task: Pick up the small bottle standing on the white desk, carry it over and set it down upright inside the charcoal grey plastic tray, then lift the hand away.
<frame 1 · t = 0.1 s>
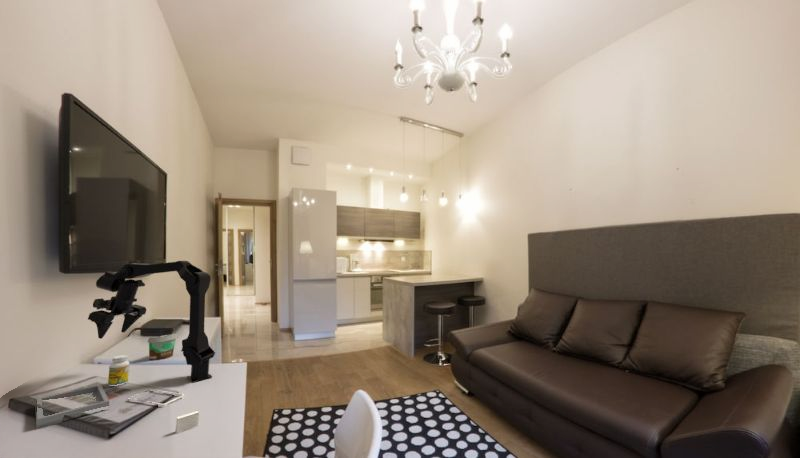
hand: (111, 335, 117), 15 cm above the table, tool pointing down, fingers open, 9 cm apart
supplement bottle: (117, 384, 109), on the table
phone case: (156, 401, 99), on the table
eraser: (186, 429, 82), on the table
tray: (71, 408, 92), on the table
food container: (165, 357, 138), on the table
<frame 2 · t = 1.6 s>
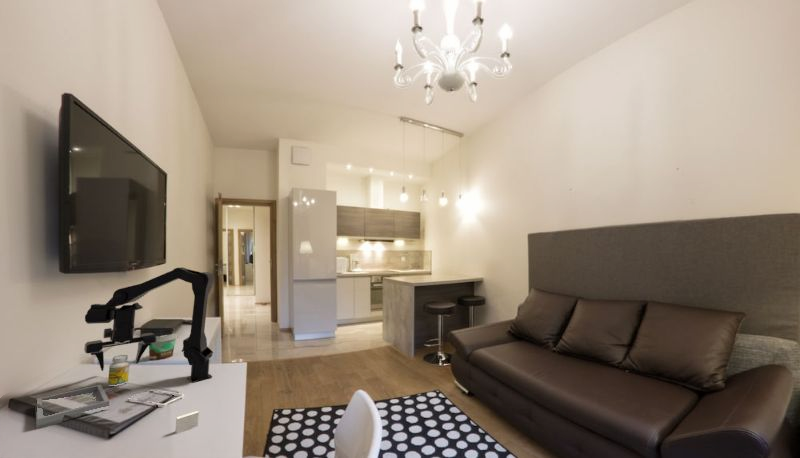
hand: (119, 366, 110), 6 cm above the table, tool pointing down, fingers open, 9 cm apart
nothing on the table moved.
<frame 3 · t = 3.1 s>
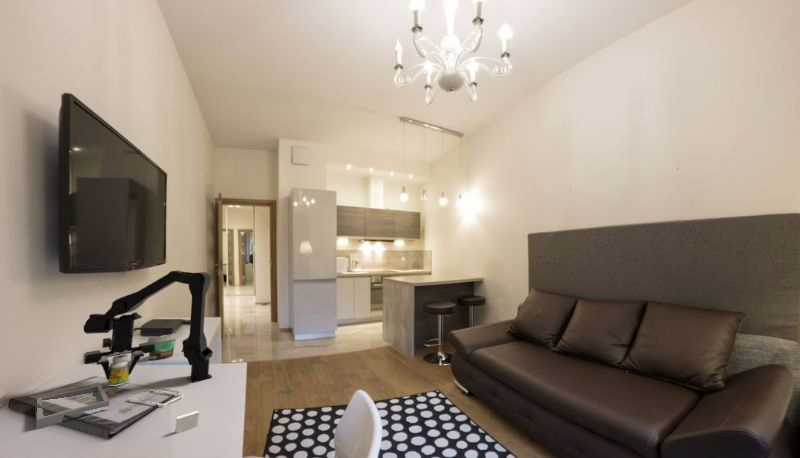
hand: (118, 376, 110), 3 cm above the table, tool pointing down, fingers closed on supplement bottle, 5 cm apart
supplement bottle: (117, 384, 109), on the table, touching gripper
everything else where it was.
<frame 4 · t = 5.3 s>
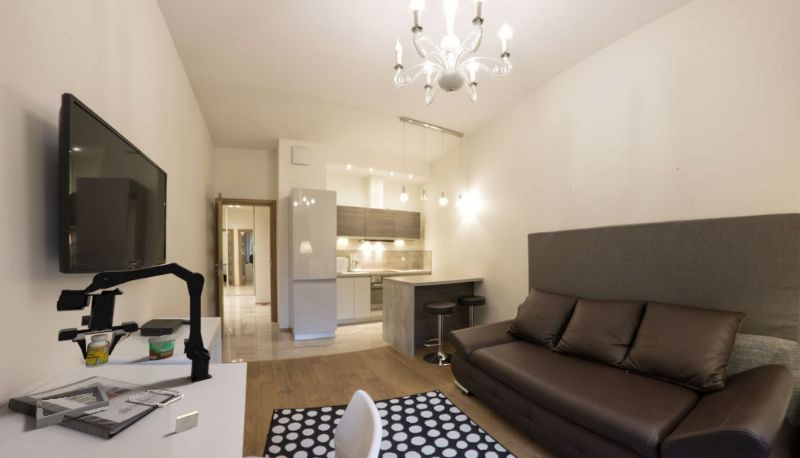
hand: (97, 357, 101), 12 cm above the table, tool pointing down, fingers closed on supplement bottle, 5 cm apart
supplement bottle: (96, 365, 100), point 10 cm above the table, touching gripper
everything else where it was.
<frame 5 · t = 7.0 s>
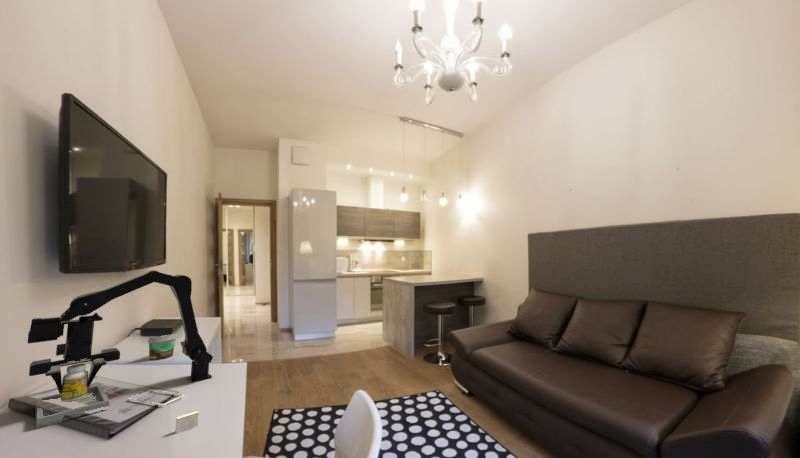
hand: (74, 389, 92), 5 cm above the table, tool pointing down, fingers closed on supplement bottle, 5 cm apart
supplement bottle: (73, 399, 92), point 3 cm above the table, touching gripper
everything else where it was.
when the fingers open (4 cm above the table, at t = 8.0 s): supplement bottle drops 1 cm, resting on tray.
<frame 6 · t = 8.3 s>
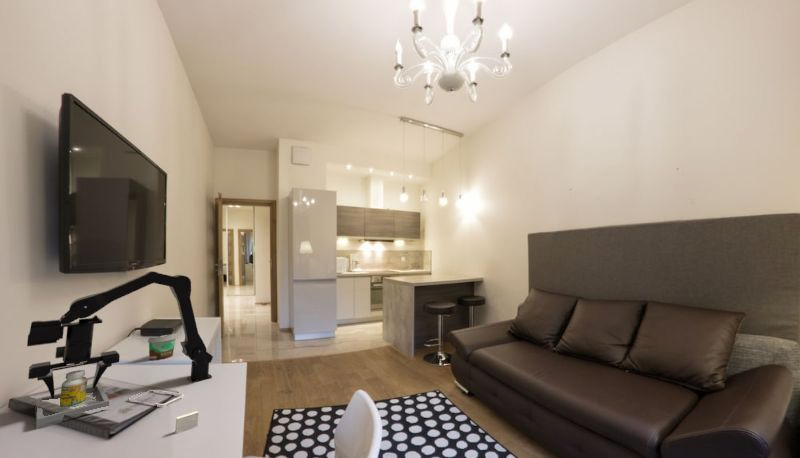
hand: (73, 392, 92), 4 cm above the table, tool pointing down, fingers open, 8 cm apart
supplement bottle: (72, 406, 92), point 1 cm above the table, touching tray
everything else where it was.
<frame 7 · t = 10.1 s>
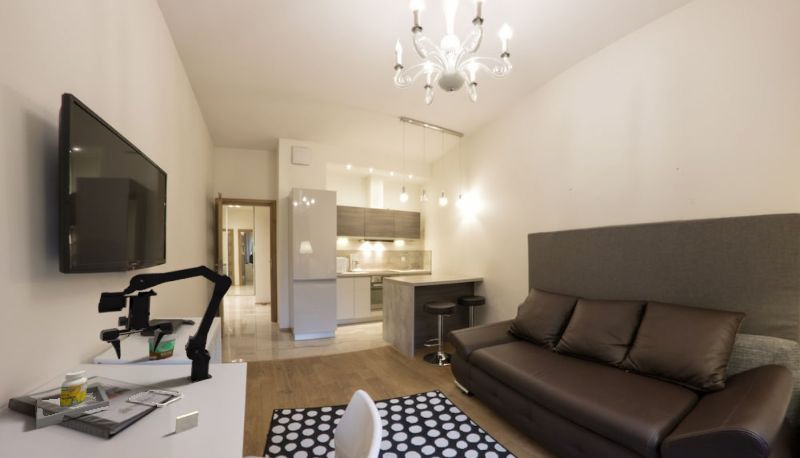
hand: (136, 355, 106), 12 cm above the table, tool pointing down, fingers open, 9 cm apart
nothing on the table moved.
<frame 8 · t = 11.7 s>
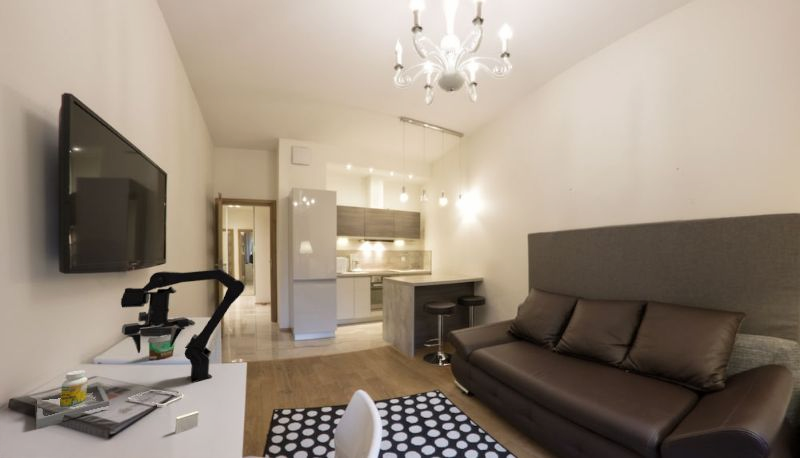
hand: (155, 349, 111), 12 cm above the table, tool pointing down, fingers open, 9 cm apart
nothing on the table moved.
at the end: supplement bottle inside the target area on the tray (0.1 cm from its centre), point 0.6 cm above the tray's base; supplement bottle tilted 0°; the gripper is holding nothing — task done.
